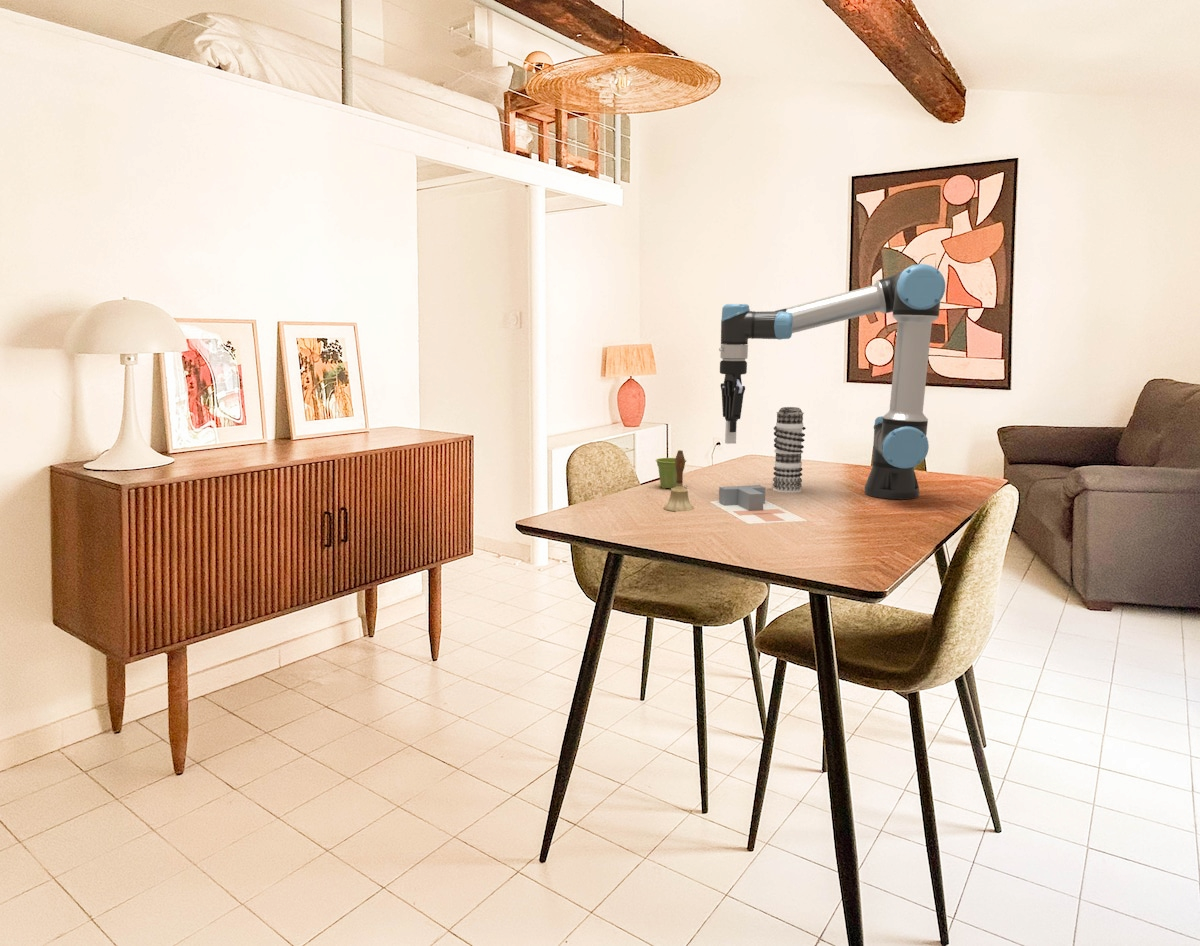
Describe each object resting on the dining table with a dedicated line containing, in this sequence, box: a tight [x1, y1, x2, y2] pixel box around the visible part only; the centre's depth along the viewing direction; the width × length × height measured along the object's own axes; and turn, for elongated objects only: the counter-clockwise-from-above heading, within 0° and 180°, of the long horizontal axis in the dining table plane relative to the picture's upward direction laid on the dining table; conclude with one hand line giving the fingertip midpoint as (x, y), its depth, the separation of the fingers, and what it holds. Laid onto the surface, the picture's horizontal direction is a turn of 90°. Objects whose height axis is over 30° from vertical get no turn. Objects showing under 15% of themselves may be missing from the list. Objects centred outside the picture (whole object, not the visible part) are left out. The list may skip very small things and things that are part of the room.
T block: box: [718, 484, 766, 511], centre depth 228 cm, size 12×12×4 cm
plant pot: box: [655, 457, 687, 489], centre depth 256 cm, size 9×9×9 cm
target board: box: [710, 499, 808, 525], centre depth 222 cm, size 16×28×1 cm, turn 12°
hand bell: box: [663, 449, 695, 512], centre depth 225 cm, size 8×8×16 cm
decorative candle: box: [772, 406, 807, 494], centre depth 250 cm, size 9×9×25 cm
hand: (730, 443), depth 238 cm, fingers closed
